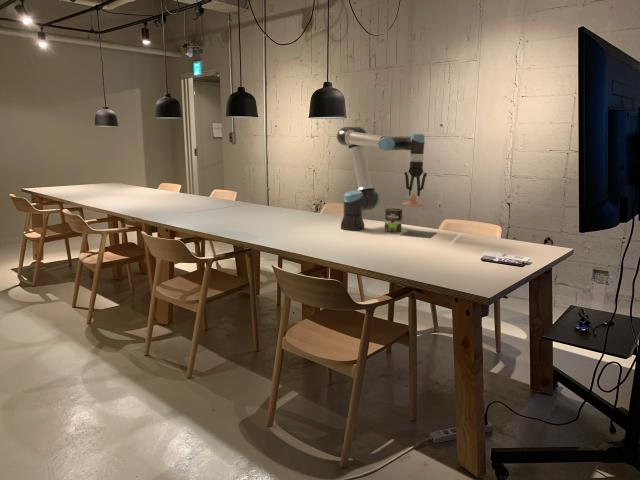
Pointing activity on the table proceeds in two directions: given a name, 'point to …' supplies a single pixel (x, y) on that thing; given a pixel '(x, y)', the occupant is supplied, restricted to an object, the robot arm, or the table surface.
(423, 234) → the mat
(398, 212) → the coffee can
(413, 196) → the lid
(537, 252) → the table surface
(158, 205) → the table surface
